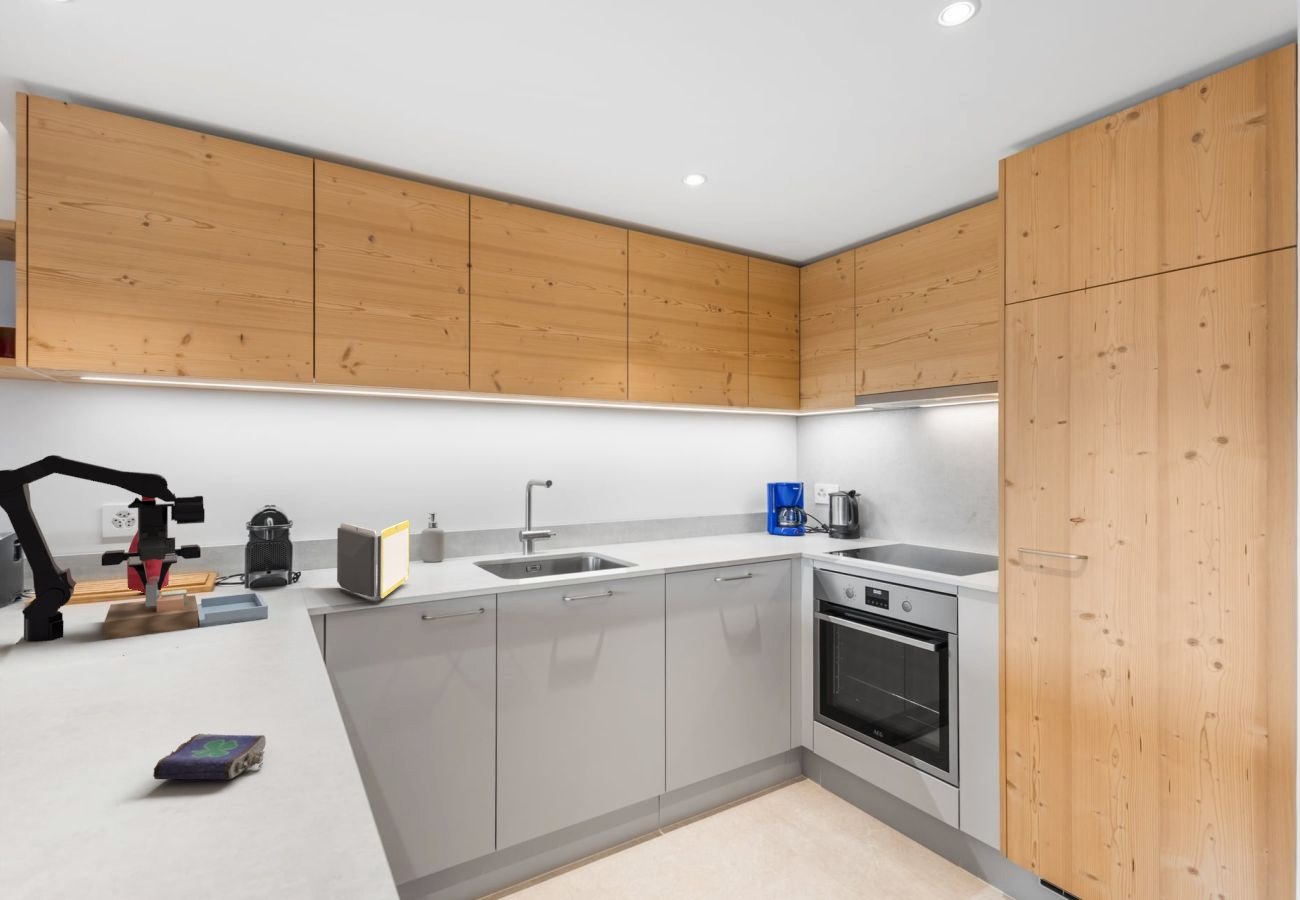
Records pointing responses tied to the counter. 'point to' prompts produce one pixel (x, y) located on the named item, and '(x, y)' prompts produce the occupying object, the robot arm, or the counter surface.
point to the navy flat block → (212, 757)
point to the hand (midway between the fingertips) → (153, 590)
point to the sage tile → (175, 594)
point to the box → (231, 609)
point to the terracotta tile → (170, 603)
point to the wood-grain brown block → (148, 619)
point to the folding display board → (372, 559)
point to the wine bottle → (150, 566)
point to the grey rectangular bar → (152, 591)
